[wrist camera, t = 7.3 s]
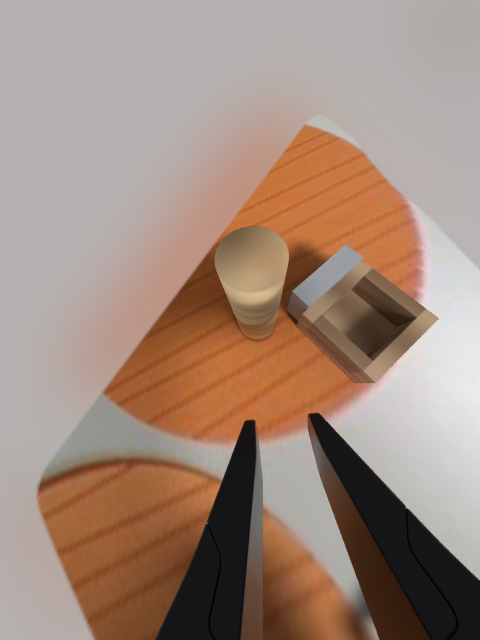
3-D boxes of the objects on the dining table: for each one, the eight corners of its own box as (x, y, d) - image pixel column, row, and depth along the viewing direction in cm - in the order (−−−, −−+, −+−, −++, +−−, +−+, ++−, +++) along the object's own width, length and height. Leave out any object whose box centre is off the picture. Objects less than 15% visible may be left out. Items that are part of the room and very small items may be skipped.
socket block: (354, 383, 21) (375, 382, 17) (296, 325, 23) (302, 313, 19) (408, 330, 22) (438, 318, 18) (346, 280, 24) (362, 260, 20)
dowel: (256, 349, 23) (247, 306, 10) (232, 323, 24) (200, 256, 12) (282, 325, 23) (305, 256, 11) (258, 300, 24) (253, 214, 12)
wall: (299, 322, 23) (308, 306, 18) (286, 310, 24) (292, 291, 19) (343, 282, 24) (363, 257, 19) (329, 271, 25) (345, 244, 20)
